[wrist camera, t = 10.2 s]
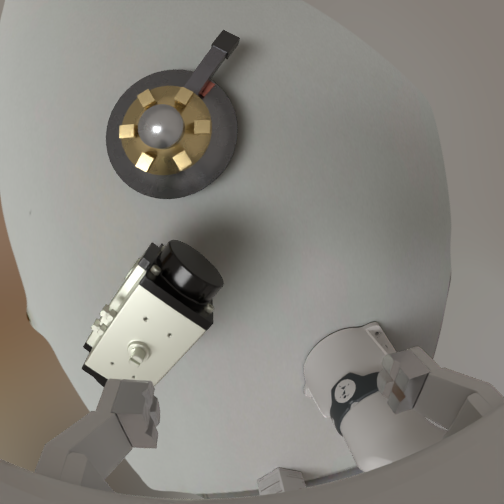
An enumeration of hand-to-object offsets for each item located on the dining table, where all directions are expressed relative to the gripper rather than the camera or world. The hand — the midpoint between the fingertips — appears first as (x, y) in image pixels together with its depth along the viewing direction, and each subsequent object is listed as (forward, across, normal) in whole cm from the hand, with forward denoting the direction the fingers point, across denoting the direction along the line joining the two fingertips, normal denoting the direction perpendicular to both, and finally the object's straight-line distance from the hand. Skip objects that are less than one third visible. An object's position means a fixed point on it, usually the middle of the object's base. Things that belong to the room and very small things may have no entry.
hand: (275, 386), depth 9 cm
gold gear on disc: (+31, +7, -11) cm, 33 cm away
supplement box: (+31, -10, +69) cm, 76 cm away
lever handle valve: (+28, +4, -15) cm, 31 cm away
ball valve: (+31, +10, +9) cm, 34 cm away
